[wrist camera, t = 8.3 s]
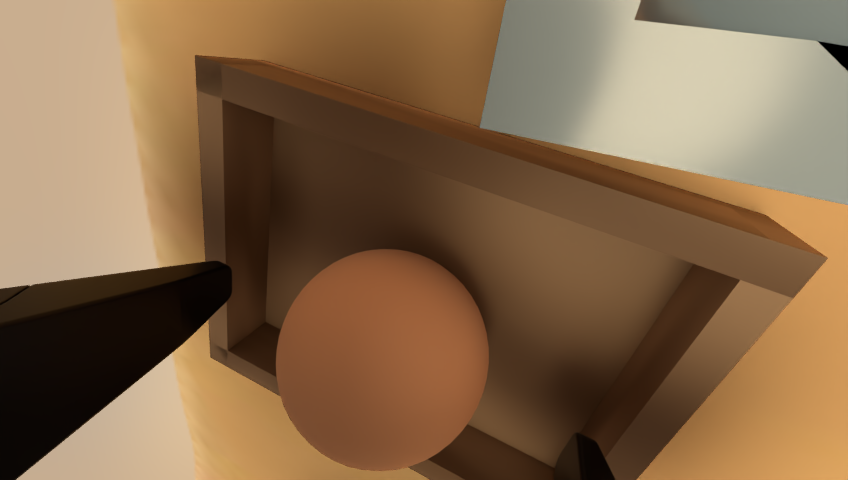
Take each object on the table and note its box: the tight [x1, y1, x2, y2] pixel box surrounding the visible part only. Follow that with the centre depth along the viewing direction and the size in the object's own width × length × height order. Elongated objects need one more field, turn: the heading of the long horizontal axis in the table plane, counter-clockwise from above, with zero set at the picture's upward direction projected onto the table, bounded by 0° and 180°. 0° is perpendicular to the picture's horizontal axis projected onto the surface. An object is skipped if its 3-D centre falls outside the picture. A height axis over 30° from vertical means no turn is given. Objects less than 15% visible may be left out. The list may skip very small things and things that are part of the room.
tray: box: [195, 55, 828, 480], centre depth 11 cm, size 10×13×2 cm
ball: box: [276, 249, 489, 471], centre depth 9 cm, size 5×5×5 cm
